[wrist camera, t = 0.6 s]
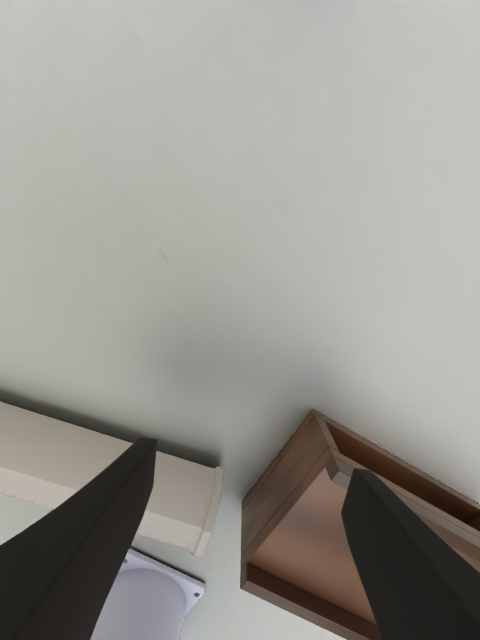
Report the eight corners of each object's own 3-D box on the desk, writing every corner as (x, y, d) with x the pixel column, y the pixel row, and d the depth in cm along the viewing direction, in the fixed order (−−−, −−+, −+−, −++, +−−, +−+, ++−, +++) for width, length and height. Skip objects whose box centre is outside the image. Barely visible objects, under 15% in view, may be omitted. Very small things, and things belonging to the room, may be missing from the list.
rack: (398, 583, 23) (447, 687, 18) (241, 502, 22) (239, 588, 16) (480, 504, 21) (564, 595, 16) (312, 408, 20) (339, 470, 14)
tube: (-186, 459, 17) (193, 571, 18) (-241, 406, 14) (212, 543, 15) (-87, 395, 21) (211, 488, 23) (-114, 345, 19) (228, 454, 20)
